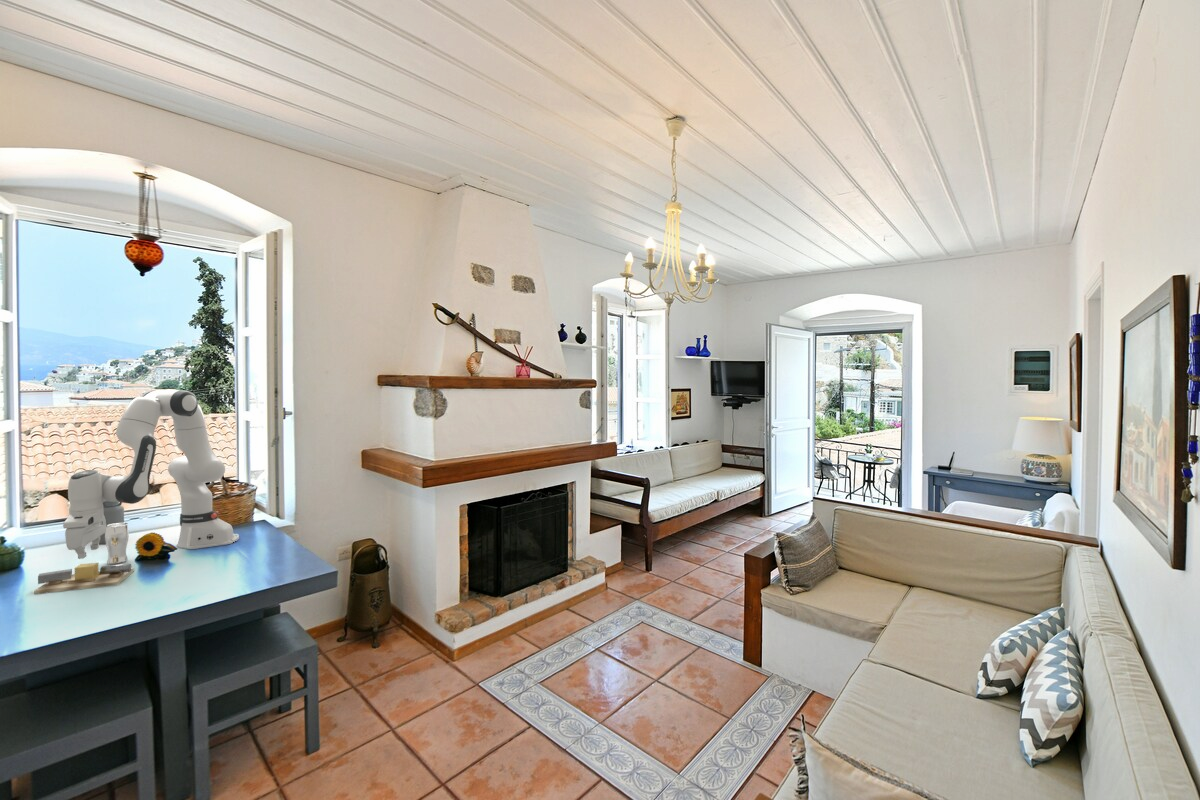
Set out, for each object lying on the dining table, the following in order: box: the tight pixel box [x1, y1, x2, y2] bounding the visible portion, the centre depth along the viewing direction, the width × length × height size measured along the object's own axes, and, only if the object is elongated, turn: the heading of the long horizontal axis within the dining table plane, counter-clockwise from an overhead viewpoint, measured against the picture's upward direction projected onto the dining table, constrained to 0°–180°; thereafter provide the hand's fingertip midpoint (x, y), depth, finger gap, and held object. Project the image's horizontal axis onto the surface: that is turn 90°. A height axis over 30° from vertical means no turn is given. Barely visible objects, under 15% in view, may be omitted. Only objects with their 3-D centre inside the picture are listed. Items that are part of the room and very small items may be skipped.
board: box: [33, 568, 134, 595], centre depth 188 cm, size 22×14×2 cm, turn 114°
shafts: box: [37, 563, 132, 585], centre depth 187 cm, size 24×5×3 cm, turn 114°
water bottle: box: [99, 501, 125, 545], centre depth 232 cm, size 10×10×28 cm
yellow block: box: [74, 562, 100, 580], centre depth 188 cm, size 5×4×5 cm
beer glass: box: [105, 522, 130, 565], centre depth 208 cm, size 7×7×15 cm
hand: (88, 553), depth 188 cm, fingers open, 8 cm apart
